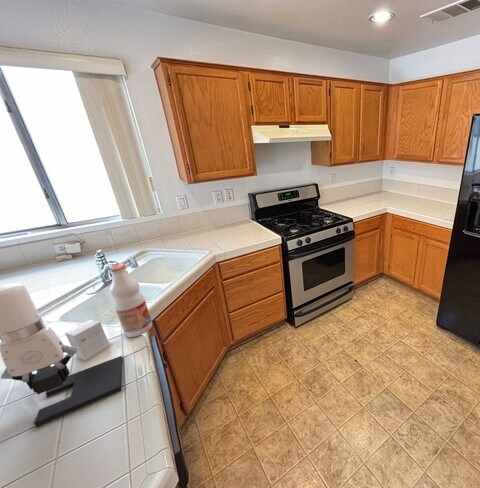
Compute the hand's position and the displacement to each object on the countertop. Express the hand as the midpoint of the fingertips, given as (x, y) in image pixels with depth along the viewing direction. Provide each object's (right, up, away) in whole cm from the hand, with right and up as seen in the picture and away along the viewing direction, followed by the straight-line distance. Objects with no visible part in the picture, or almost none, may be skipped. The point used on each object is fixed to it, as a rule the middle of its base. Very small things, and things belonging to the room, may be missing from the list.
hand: (52, 382), depth 74 cm
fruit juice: (+3, +5, +31) cm, 32 cm away
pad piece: (0, 0, 0) cm, 0 cm away
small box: (-7, 0, +21) cm, 22 cm away
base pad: (+5, -4, +5) cm, 8 cm away
